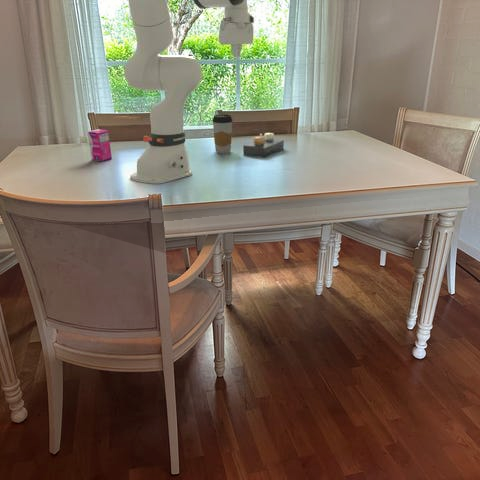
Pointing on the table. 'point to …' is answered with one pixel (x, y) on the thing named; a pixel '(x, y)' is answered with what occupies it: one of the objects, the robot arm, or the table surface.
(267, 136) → the knob cream
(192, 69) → the robot arm
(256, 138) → the knob orange
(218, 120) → the coffee cup
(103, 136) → the supplement box
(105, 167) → the table surface
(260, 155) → the mount
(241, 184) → the table surface
